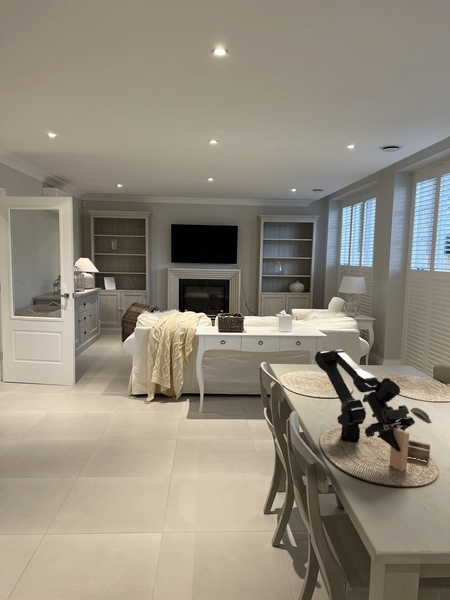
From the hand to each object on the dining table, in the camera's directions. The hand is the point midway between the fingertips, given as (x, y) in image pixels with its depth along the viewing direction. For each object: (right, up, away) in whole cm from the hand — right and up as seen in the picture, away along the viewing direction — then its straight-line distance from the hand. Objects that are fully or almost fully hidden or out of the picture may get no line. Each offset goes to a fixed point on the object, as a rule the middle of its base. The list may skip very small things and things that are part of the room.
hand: (402, 450), depth 140 cm
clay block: (-1, -6, +2) cm, 7 cm away
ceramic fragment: (+29, -3, +49) cm, 57 cm away
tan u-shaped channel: (+8, -6, +12) cm, 15 cm away
